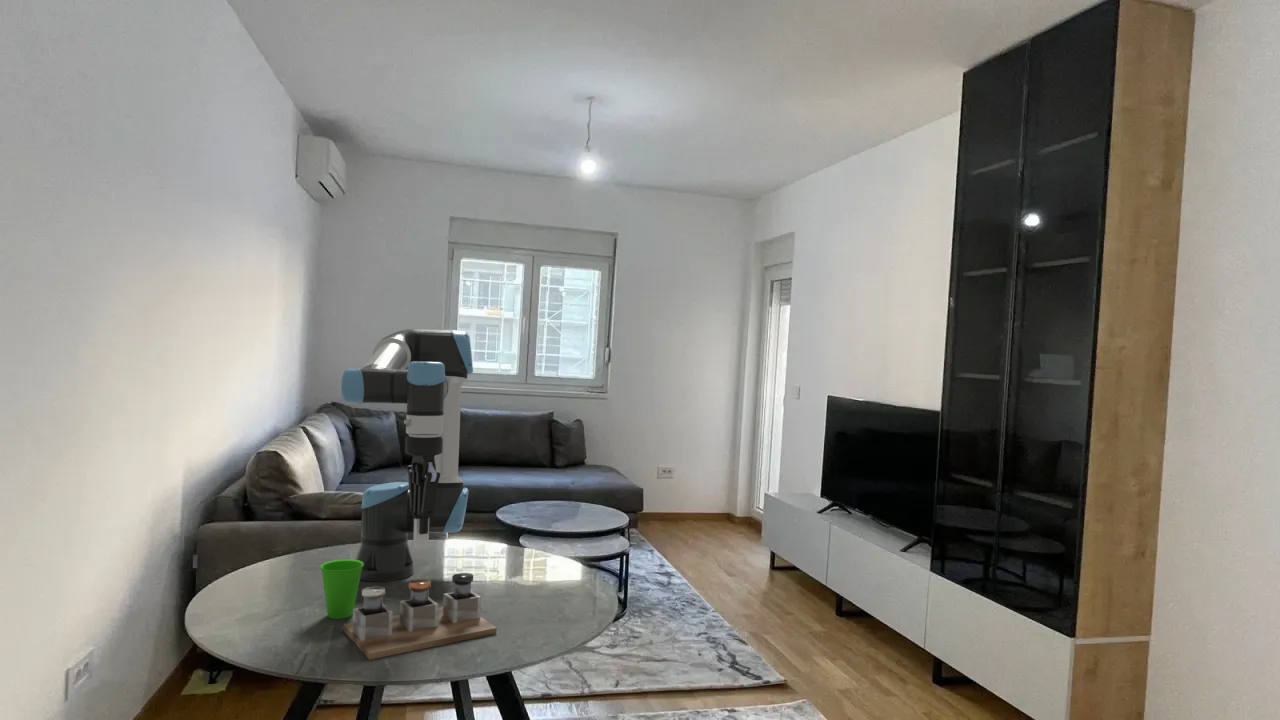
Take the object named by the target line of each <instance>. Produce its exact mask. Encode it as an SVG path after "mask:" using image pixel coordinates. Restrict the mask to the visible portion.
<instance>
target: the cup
mask: <svg viewBox="0 0 1280 720" xmlns="http://www.w3.org/2000/svg"><path fill="white" fill-rule="evenodd" d="M363 566H364V563H363V562H362V561H359V560H356V559H353V558H352V559H351V558H350V559H349V558H348V559H335V560H330V561H326V562H324V563H322V564H321V565H320V566H319V570H321V574H322V575H321V576H322V583H323V589H324V597H325V603H326V610H327V615H328V618H331V619H333V620H334V619H337V620H339V619H346V618H349V617H351V616H353V609H355V607H356V606H355V605H356V600H357V596H358V590H359V586H360V576H361V571H362V567H363Z"/></svg>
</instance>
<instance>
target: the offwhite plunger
mask: <svg viewBox="0 0 1280 720" xmlns="http://www.w3.org/2000/svg"><path fill="white" fill-rule="evenodd" d="M385 594H386V588H385V587H384V586H379V585H377V586H376V585H373V586H367V587H363V589H361V596H362V597H363V607H364V610H363V615H364V616H366V615H372V614H378V613H382V607H383V604H384V603H383V602H384V599H383V598H384V596H385Z"/></svg>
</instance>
